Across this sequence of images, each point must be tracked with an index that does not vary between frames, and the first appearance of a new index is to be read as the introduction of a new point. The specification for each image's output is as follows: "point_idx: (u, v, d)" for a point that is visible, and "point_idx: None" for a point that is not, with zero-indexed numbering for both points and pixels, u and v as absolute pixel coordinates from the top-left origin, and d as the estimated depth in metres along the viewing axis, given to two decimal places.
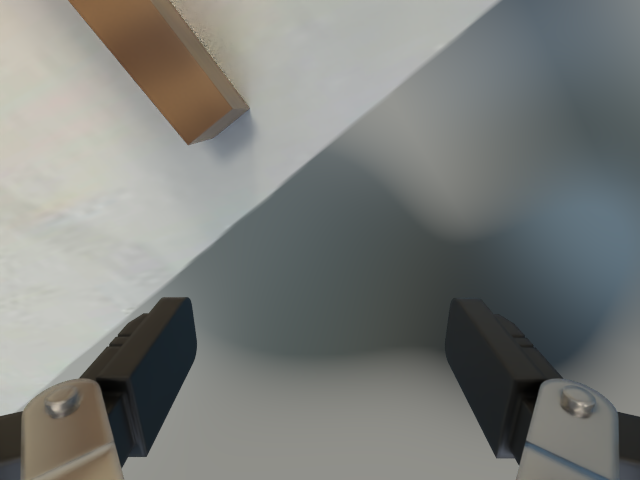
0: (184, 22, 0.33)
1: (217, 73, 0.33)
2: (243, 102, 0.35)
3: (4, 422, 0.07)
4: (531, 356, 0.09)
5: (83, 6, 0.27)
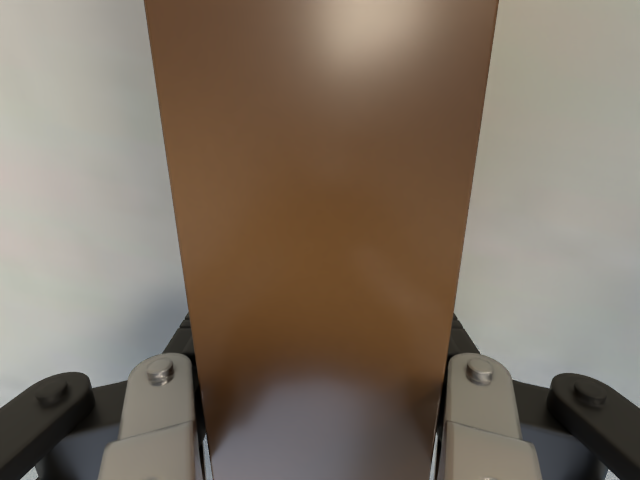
0: None
1: None
2: None
3: (105, 391, 0.08)
4: (458, 336, 0.09)
5: (212, 225, 0.06)
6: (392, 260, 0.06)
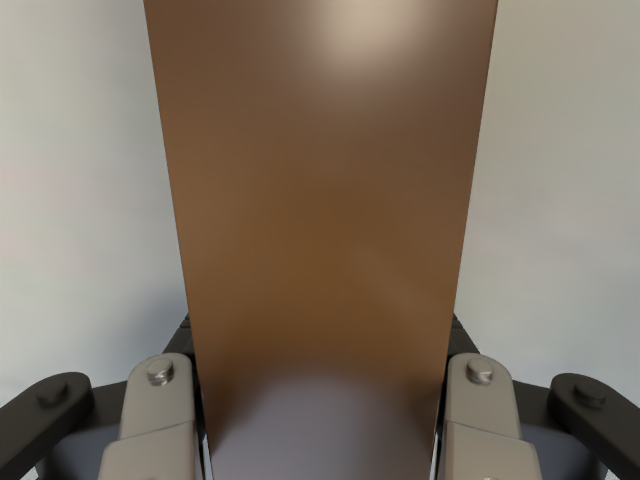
0: None
1: None
2: None
3: (105, 391, 0.08)
4: (458, 336, 0.09)
5: (212, 224, 0.06)
6: (392, 260, 0.06)
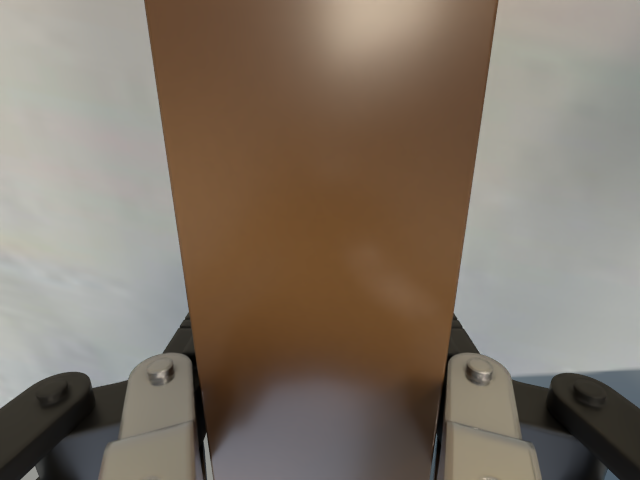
0: None
1: None
2: None
3: (105, 391, 0.08)
4: (457, 336, 0.09)
5: (212, 224, 0.06)
6: (392, 260, 0.06)
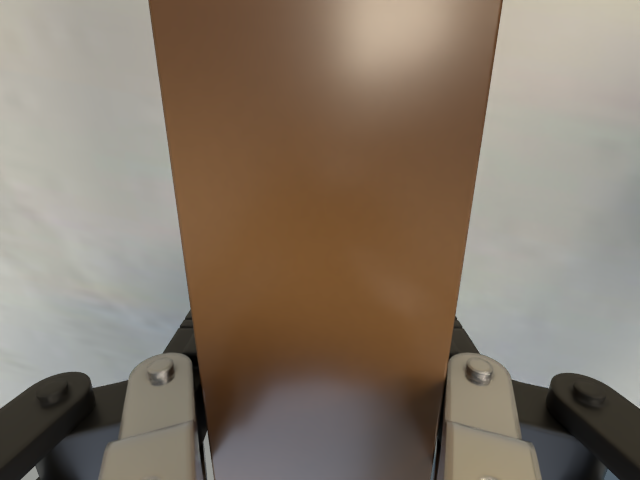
0: None
1: None
2: None
3: (106, 391, 0.08)
4: (457, 336, 0.09)
5: (215, 226, 0.06)
6: (395, 262, 0.06)
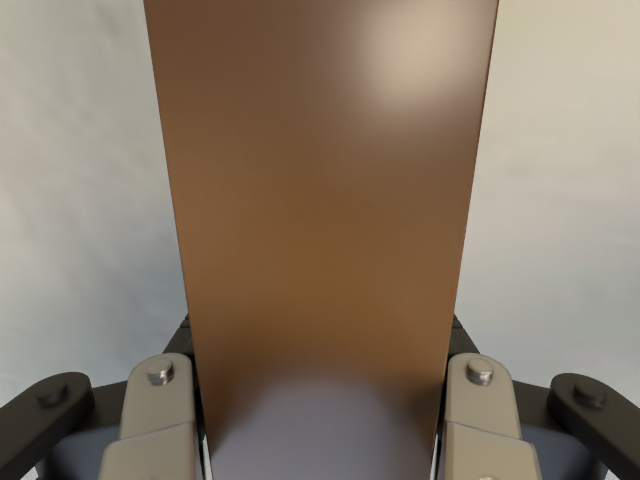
0: None
1: None
2: None
3: (105, 391, 0.08)
4: (457, 336, 0.09)
5: (212, 226, 0.06)
6: (392, 262, 0.06)
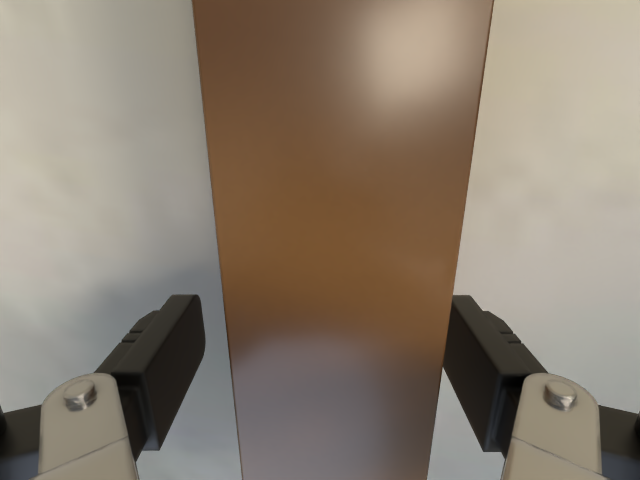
0: None
1: None
2: None
3: (22, 415, 0.07)
4: (518, 352, 0.09)
5: (245, 207, 0.07)
6: (401, 238, 0.07)
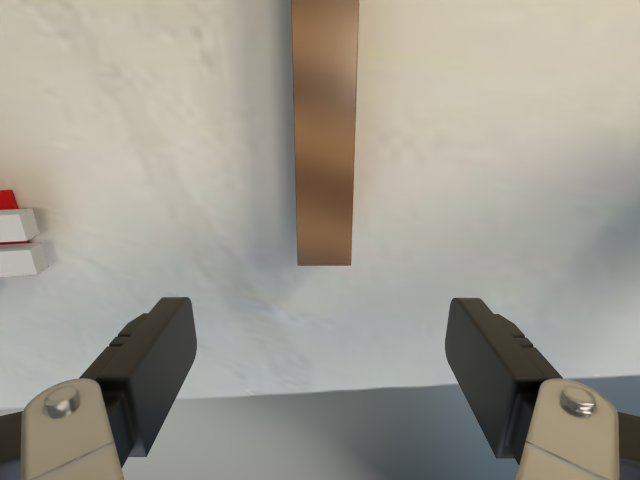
0: None
1: None
2: None
3: (3, 423, 0.07)
4: (531, 356, 0.09)
5: (302, 131, 0.29)
6: (340, 139, 0.30)
